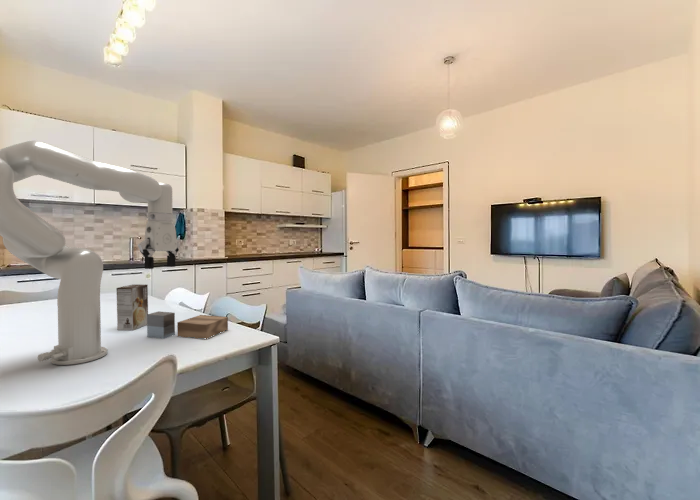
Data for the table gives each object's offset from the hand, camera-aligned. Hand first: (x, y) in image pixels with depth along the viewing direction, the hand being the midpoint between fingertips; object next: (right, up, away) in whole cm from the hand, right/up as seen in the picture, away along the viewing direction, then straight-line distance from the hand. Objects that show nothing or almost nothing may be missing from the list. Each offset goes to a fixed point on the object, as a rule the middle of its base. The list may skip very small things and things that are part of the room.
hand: (160, 267), depth 117 cm
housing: (0, -24, +1) cm, 24 cm away
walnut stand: (+13, -24, +5) cm, 28 cm away
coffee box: (-17, -24, +11) cm, 32 cm away
